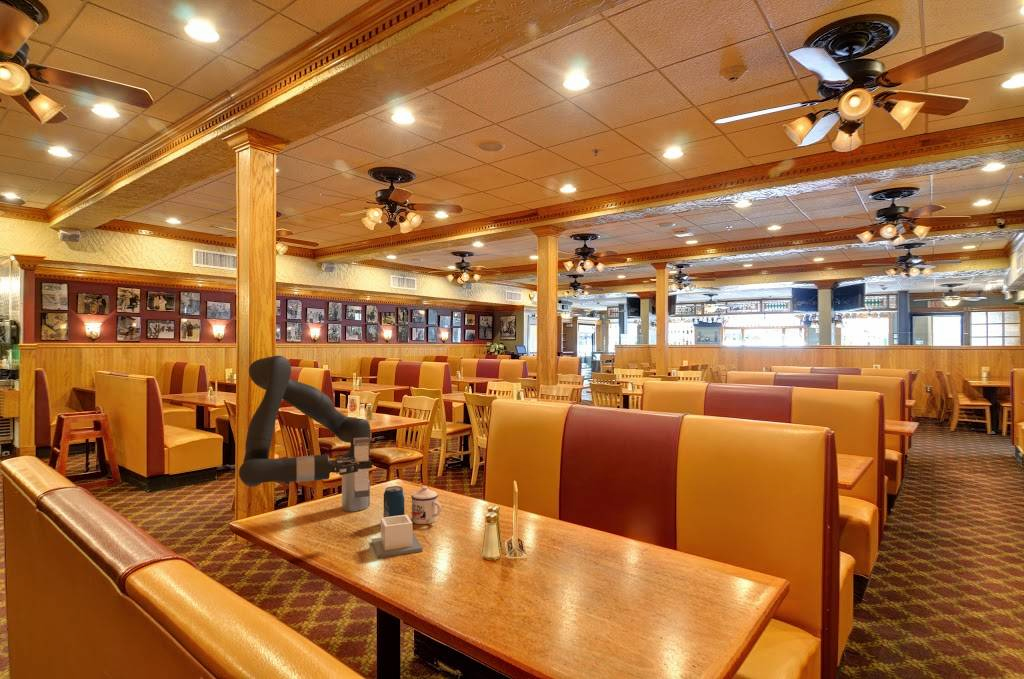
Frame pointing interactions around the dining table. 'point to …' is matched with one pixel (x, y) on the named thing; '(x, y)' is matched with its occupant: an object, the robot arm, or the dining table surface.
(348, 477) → the robot arm
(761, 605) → the dining table surface
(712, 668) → the dining table surface
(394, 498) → the soda can
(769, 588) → the dining table surface
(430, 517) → the teacup with lid
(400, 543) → the white square socket
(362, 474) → the white grey rectangular bar
